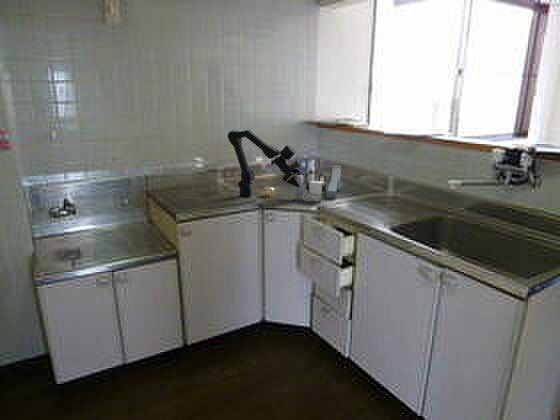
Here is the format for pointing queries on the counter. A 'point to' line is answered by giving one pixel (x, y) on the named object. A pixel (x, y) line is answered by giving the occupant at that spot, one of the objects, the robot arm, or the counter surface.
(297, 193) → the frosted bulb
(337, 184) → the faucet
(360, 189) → the counter surface
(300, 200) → the dark grey metal disc
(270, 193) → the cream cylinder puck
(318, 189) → the pneumatic valve
